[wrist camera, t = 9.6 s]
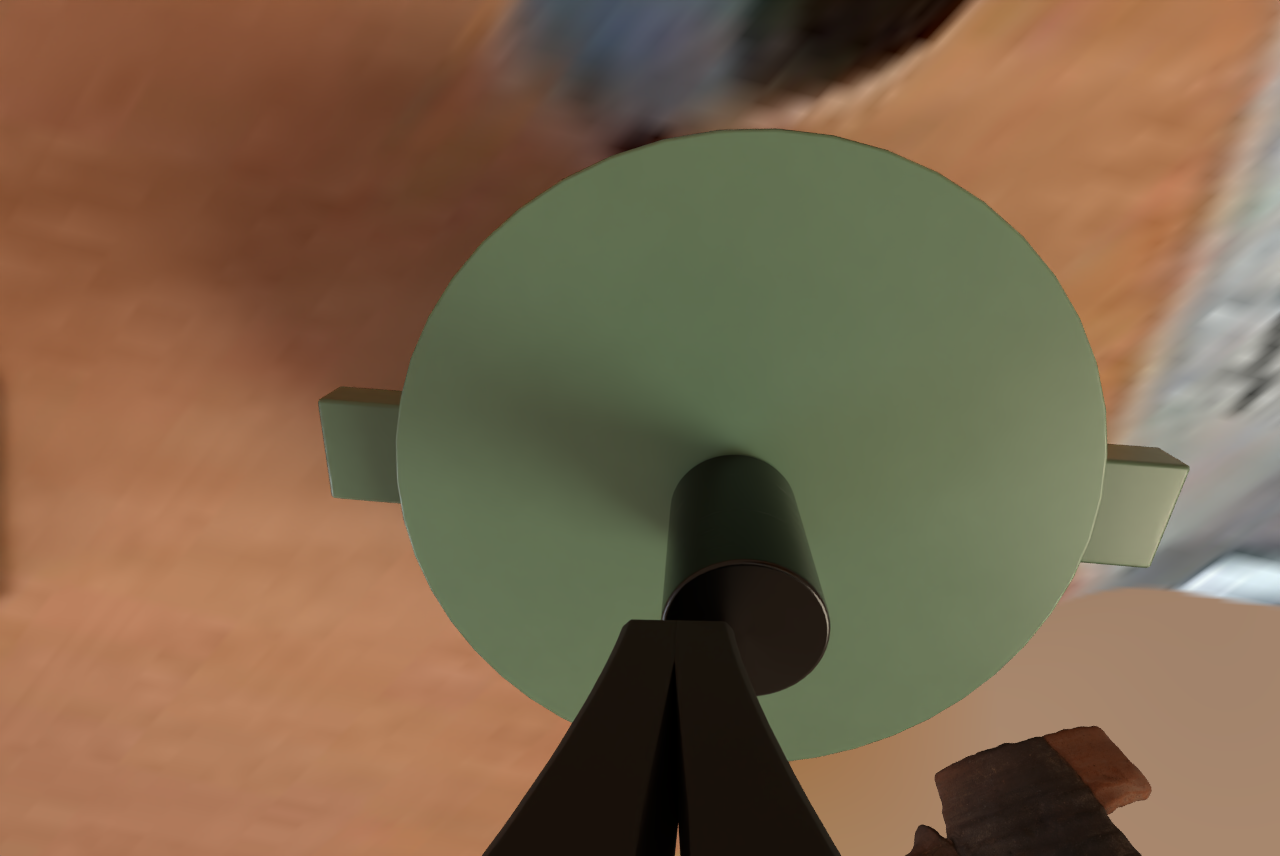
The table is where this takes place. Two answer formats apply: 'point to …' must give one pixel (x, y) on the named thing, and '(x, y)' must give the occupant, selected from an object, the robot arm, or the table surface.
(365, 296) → the table surface
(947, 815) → the pottery mug
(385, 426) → the pot
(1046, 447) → the lid
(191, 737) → the table surface
